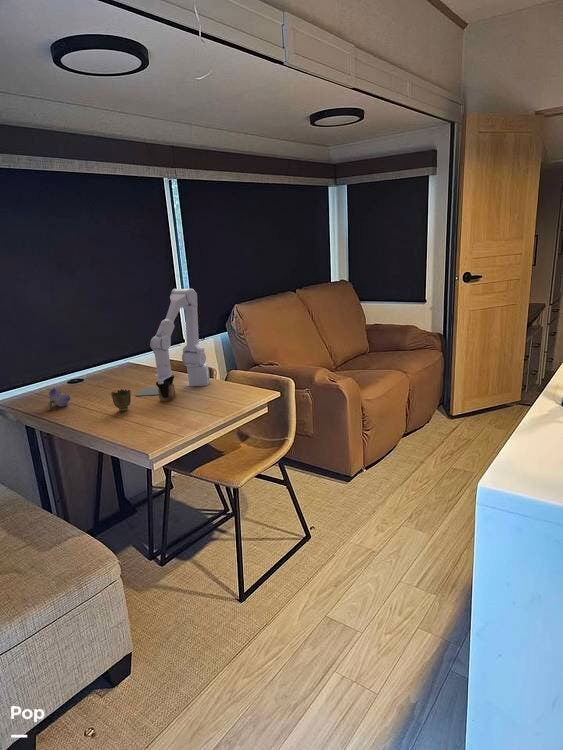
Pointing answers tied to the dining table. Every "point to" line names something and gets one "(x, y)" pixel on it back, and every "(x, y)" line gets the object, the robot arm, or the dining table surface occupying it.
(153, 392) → the mat
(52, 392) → the flower
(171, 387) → the walnut cube
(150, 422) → the dining table surface
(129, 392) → the cup
